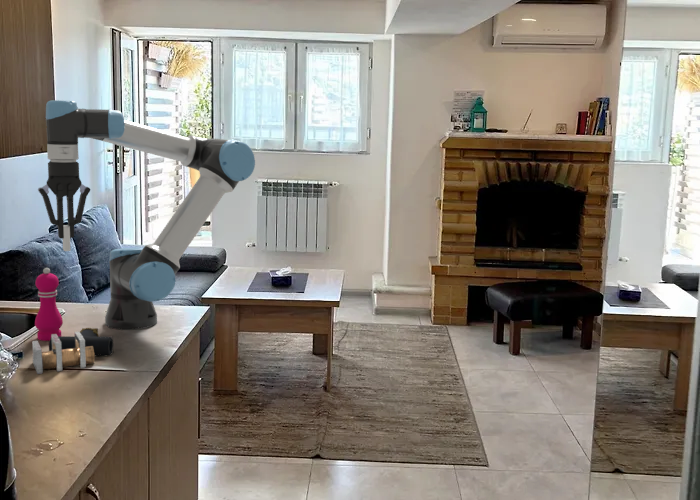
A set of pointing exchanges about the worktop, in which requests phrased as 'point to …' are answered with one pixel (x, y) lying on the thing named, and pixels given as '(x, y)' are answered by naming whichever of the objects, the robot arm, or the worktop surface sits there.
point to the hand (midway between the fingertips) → (66, 250)
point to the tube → (67, 357)
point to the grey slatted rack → (58, 352)
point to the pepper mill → (47, 306)
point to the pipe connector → (88, 342)
